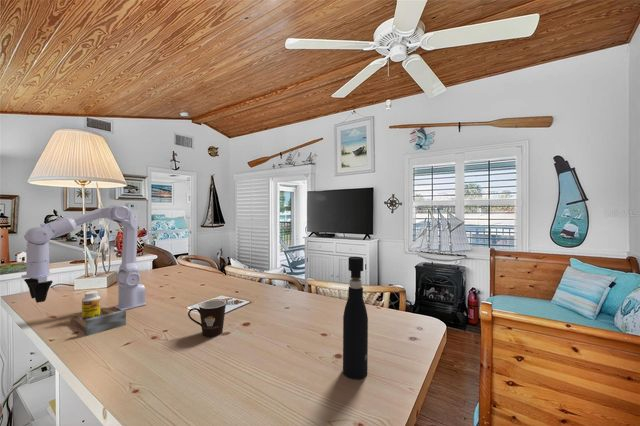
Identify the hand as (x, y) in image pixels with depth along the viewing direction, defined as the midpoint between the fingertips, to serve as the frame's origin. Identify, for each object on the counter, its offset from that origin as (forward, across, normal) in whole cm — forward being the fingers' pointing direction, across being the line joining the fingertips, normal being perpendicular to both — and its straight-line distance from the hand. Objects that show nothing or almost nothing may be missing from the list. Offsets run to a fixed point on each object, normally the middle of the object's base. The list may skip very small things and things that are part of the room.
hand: (38, 299), depth 100 cm
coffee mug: (+10, +51, +34) cm, 62 cm away
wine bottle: (+10, +103, +43) cm, 112 cm away
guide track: (+10, +10, +14) cm, 20 cm away
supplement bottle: (+10, +4, +14) cm, 18 cm away
